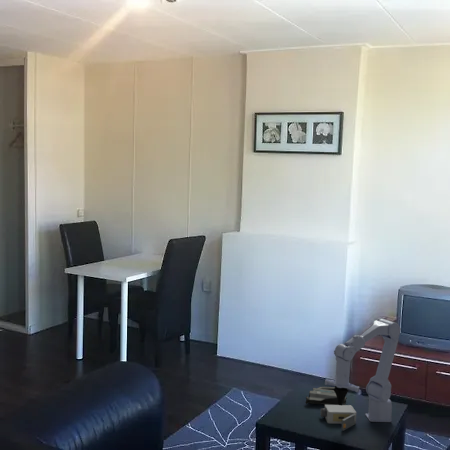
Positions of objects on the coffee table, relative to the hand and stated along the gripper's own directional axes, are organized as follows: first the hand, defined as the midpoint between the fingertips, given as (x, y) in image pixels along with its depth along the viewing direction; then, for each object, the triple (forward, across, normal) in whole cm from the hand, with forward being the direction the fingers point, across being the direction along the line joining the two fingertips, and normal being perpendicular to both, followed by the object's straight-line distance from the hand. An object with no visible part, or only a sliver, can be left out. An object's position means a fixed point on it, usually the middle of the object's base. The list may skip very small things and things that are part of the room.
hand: (340, 404), depth 254 cm
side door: (+10, +4, +2) cm, 10 cm away
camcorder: (+10, -16, +25) cm, 31 cm away
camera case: (+10, -3, +8) cm, 13 cm away
